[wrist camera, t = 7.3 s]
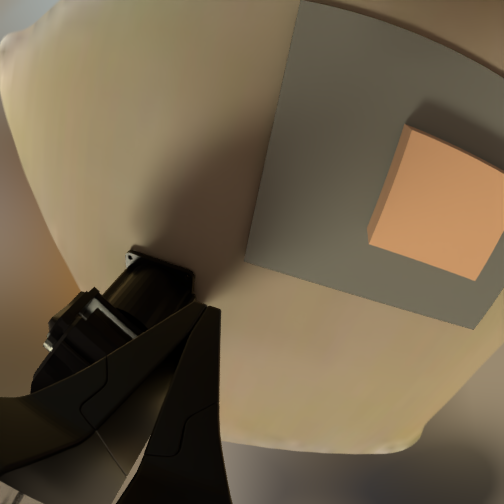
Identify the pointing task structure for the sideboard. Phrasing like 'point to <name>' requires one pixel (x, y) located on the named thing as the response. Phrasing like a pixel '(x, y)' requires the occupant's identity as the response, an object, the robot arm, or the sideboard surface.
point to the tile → (439, 205)
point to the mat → (368, 158)
